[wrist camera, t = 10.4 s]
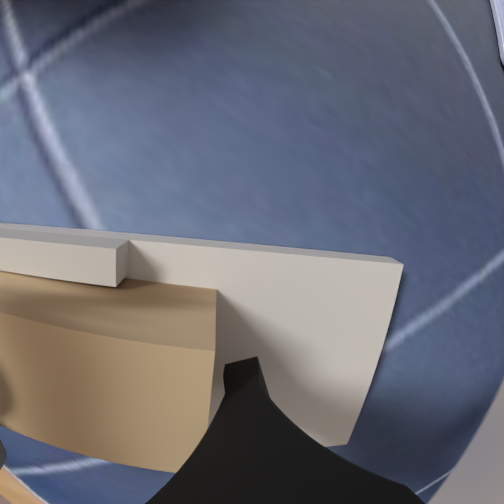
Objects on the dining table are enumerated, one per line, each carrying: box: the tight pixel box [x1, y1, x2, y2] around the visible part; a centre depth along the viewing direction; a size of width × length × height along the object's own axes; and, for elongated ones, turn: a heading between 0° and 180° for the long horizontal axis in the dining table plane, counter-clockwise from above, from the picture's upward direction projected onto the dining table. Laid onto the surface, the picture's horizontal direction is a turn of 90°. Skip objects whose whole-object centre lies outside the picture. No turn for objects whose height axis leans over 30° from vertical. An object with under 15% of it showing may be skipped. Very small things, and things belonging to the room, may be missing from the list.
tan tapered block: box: [0, 270, 216, 473], centre depth 7 cm, size 7×4×4 cm, turn 82°
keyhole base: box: [0, 223, 403, 469], centre depth 8 cm, size 15×8×6 cm, turn 83°
